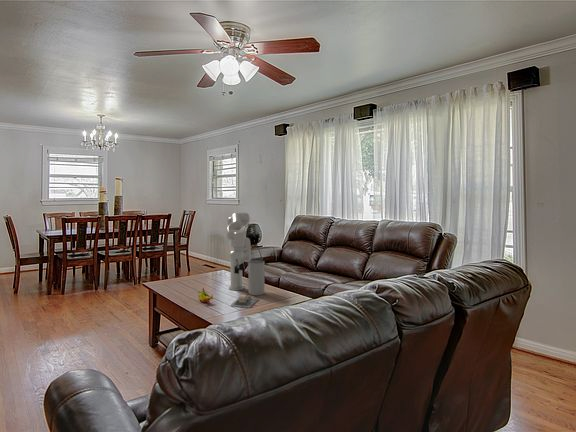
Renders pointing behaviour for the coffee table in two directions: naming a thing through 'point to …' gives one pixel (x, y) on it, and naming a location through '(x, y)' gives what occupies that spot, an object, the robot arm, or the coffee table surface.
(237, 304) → the carrier plate
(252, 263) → the cylinder vase
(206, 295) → the yellow toy car
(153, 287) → the coffee table surface
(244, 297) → the block
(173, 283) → the coffee table surface
